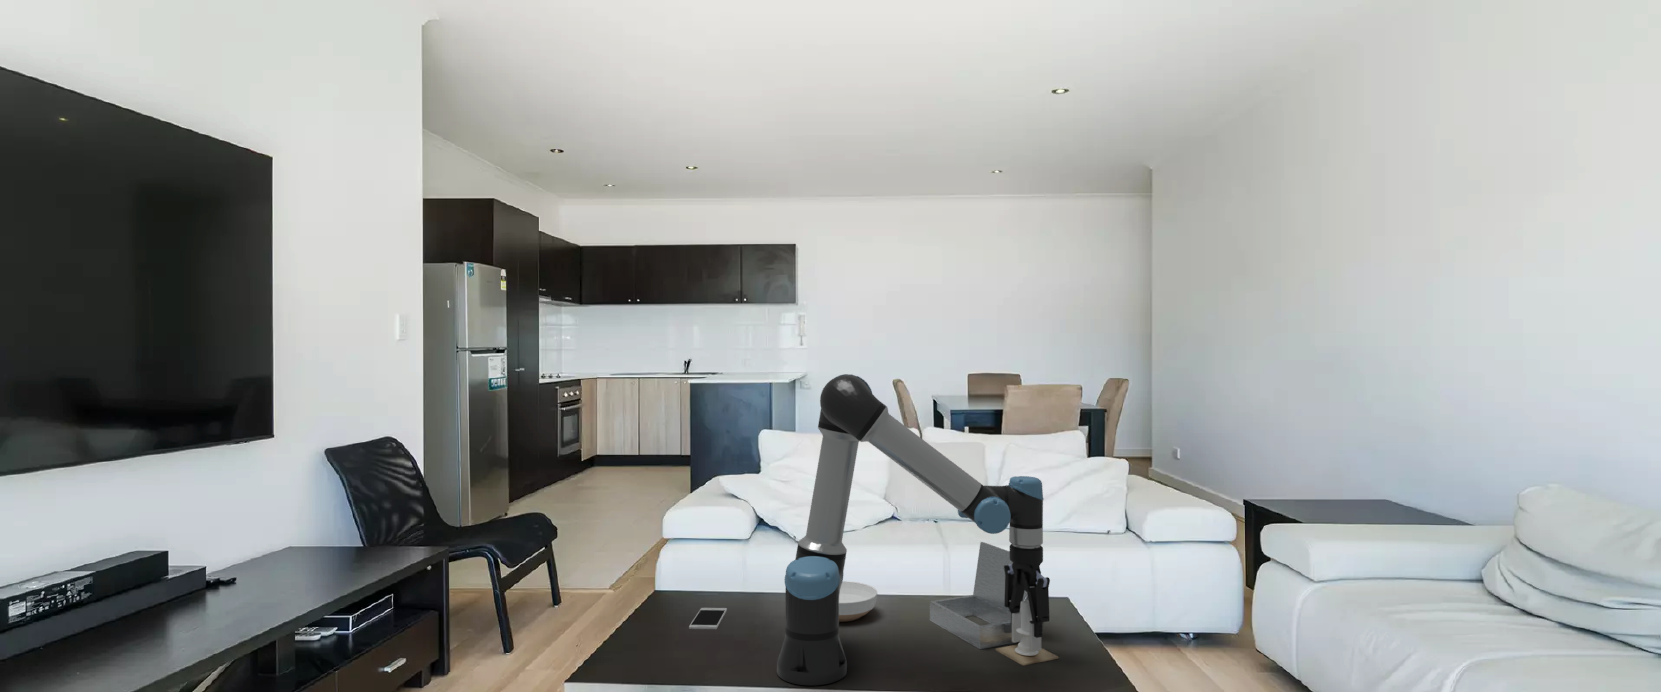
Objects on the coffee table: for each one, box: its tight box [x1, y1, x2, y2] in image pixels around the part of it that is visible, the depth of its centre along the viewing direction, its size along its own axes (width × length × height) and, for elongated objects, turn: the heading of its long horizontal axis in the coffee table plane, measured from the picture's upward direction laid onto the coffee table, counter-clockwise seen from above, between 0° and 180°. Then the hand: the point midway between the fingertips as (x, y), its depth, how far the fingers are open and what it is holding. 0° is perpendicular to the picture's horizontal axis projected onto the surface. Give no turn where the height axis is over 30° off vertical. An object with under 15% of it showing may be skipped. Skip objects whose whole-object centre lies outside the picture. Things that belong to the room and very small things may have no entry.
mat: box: [995, 643, 1059, 666], centre depth 178 cm, size 10×10×1 cm
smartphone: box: [688, 607, 728, 630], centre depth 203 cm, size 7×15×1 cm, turn 178°
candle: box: [1015, 599, 1039, 656], centre depth 179 cm, size 5×5×12 cm
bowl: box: [839, 580, 878, 623], centre depth 206 cm, size 20×20×6 cm
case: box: [929, 541, 1035, 650], centre depth 195 cm, size 17×23×19 cm
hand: (1026, 645), depth 179 cm, fingers open, 6 cm apart
